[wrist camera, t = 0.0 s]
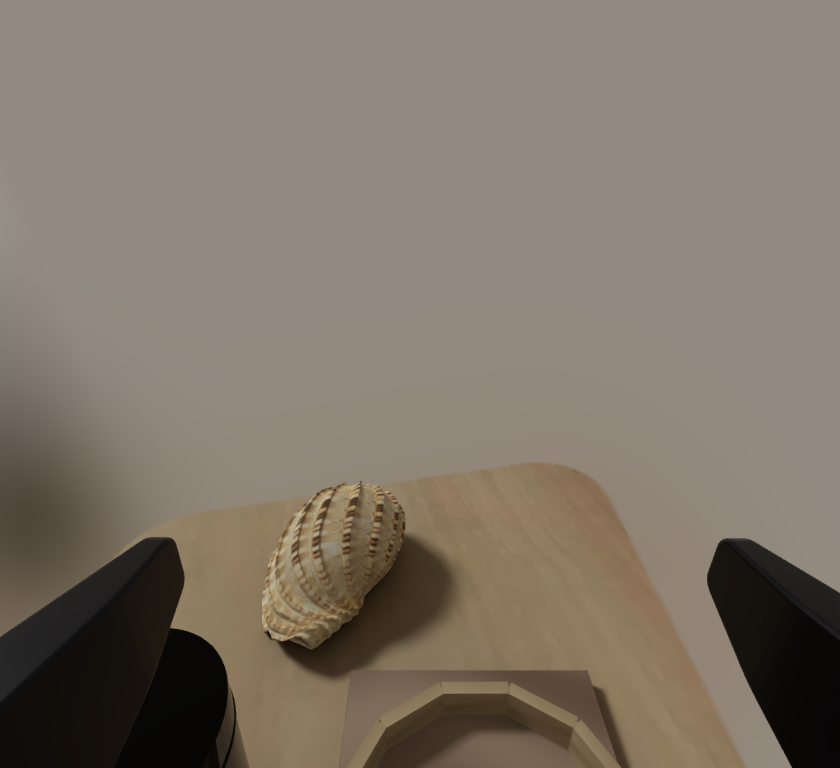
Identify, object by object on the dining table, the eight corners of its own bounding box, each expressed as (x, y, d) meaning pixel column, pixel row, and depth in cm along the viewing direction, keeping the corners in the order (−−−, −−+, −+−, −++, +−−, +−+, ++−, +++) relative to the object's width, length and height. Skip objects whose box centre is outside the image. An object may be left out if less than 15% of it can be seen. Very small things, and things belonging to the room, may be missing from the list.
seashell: (404, 665, 27) (406, 497, 33) (403, 642, 22) (405, 451, 29) (263, 667, 27) (291, 497, 33) (231, 643, 22) (271, 452, 28)
